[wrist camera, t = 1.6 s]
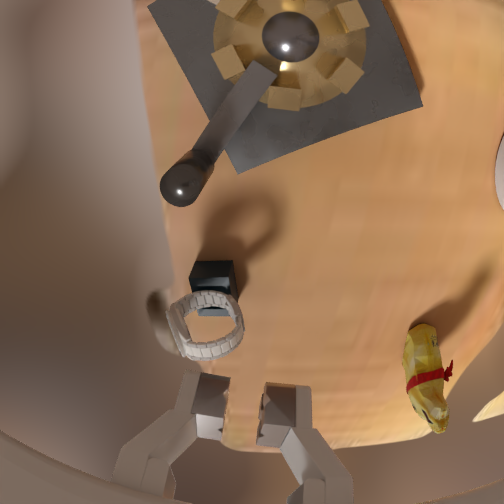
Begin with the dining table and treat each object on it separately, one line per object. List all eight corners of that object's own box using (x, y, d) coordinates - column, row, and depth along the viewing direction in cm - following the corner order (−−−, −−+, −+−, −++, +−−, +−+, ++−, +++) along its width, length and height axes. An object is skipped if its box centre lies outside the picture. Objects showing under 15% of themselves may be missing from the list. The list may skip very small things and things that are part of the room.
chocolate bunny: (394, 370, 44) (412, 453, 32) (403, 322, 39) (432, 418, 26) (433, 362, 43) (457, 441, 30) (447, 314, 37) (484, 402, 25)
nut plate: (335, -63, 16) (339, -72, 14) (414, 103, 24) (424, 106, 23) (155, 9, 22) (146, 5, 20) (240, 167, 30) (237, 175, 28)
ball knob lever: (271, -39, 17) (266, -82, 10) (382, 36, 20) (425, 25, 12) (150, 132, 26) (102, 161, 19) (251, 197, 29) (240, 247, 22)
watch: (179, 262, 36) (147, 330, 27) (248, 259, 35) (235, 333, 26) (189, 299, 39) (164, 368, 30) (253, 298, 38) (243, 372, 29)
